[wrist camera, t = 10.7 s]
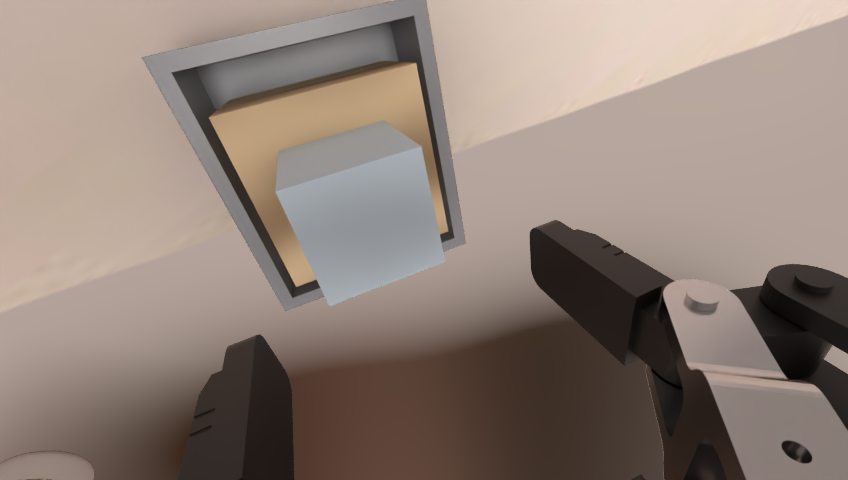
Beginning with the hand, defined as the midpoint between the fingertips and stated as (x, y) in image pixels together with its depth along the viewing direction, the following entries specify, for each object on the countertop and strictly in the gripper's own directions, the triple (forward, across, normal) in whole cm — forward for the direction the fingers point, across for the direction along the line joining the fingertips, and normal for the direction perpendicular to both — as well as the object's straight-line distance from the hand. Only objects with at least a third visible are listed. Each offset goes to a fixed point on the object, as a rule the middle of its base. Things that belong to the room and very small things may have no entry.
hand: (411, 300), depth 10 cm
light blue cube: (+11, 0, 0) cm, 11 cm away
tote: (+19, 0, 0) cm, 19 cm away
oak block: (+18, 0, 0) cm, 18 cm away
